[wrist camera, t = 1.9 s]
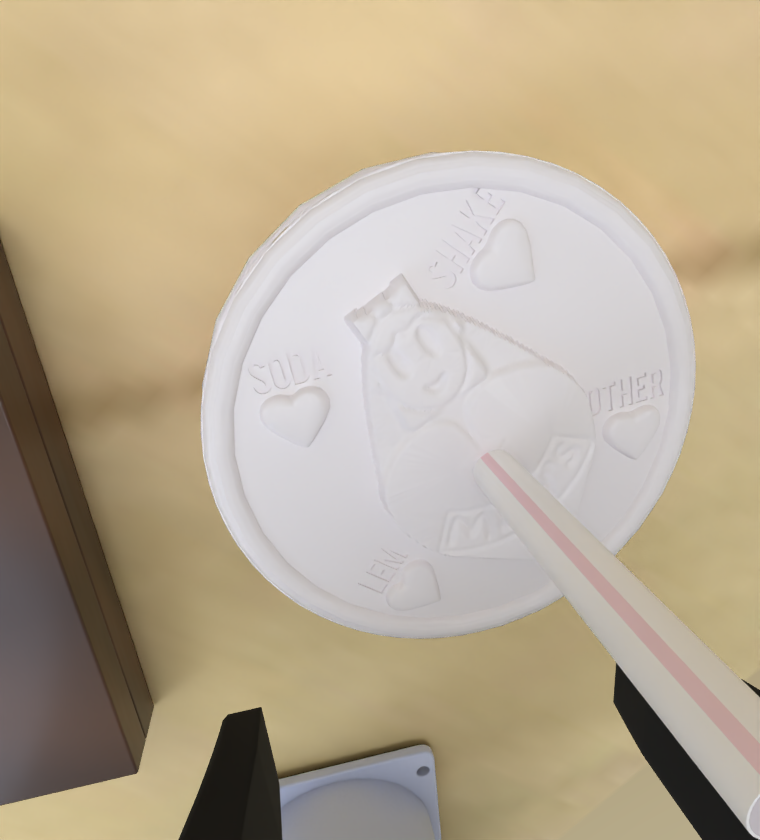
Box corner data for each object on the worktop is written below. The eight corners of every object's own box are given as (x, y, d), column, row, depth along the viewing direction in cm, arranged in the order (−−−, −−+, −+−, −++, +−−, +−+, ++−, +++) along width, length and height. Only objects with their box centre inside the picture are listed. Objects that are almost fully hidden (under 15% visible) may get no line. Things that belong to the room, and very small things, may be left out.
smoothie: (334, 458, 17) (531, 1210, 4) (189, 289, 15) (-455, 811, 2) (502, 332, 17) (1307, 722, 4) (381, 138, 14) (1477, -708, 1)
